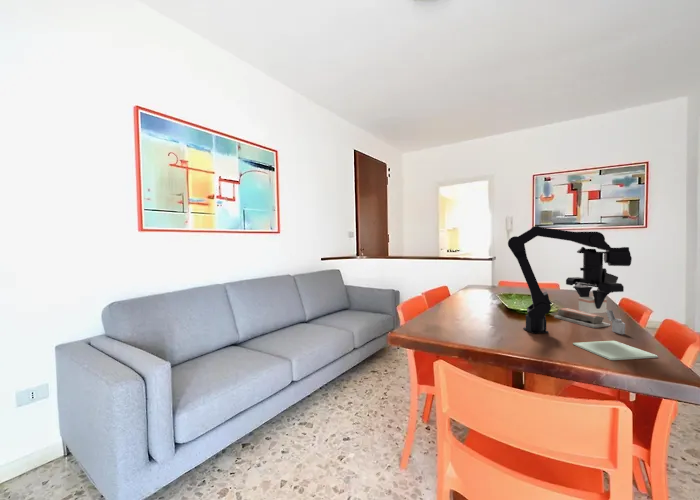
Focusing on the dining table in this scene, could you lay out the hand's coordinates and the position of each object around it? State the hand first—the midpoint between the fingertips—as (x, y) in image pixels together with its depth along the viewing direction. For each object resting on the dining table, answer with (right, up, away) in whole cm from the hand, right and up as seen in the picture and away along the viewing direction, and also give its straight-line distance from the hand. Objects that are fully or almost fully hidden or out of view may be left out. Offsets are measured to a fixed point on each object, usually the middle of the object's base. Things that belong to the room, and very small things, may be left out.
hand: (592, 307), depth 114 cm
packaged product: (+12, -11, +22) cm, 27 cm away
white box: (0, -2, 0) cm, 2 cm away
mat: (-3, -12, -13) cm, 18 cm away
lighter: (+14, -11, +7) cm, 20 cm away
